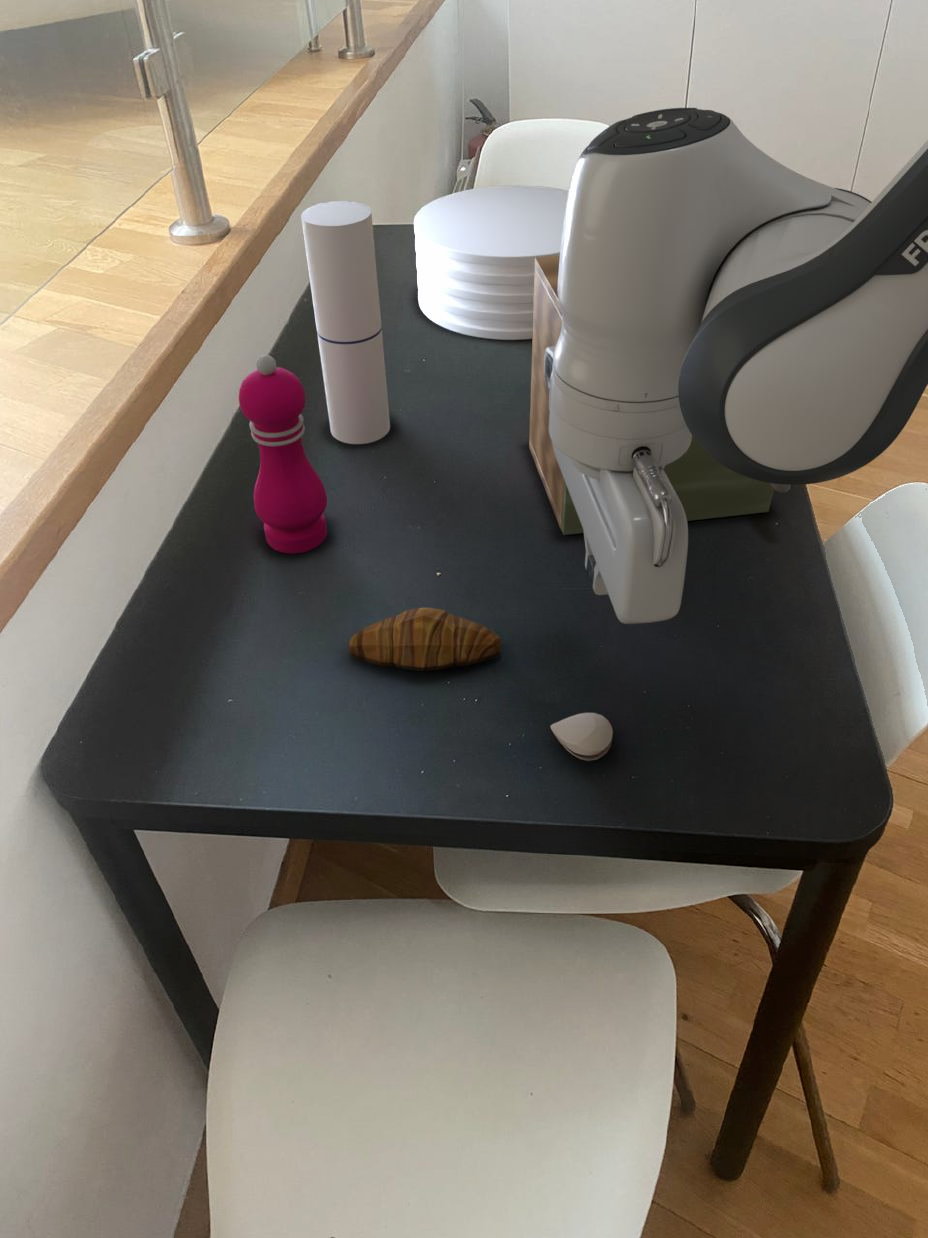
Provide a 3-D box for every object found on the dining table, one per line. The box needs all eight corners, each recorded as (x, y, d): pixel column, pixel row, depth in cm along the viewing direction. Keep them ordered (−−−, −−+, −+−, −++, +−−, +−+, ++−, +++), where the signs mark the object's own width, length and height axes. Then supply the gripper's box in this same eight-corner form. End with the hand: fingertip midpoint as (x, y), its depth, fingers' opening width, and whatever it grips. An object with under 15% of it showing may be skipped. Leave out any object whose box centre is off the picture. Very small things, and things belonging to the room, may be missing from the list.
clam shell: (603, 772, 72) (606, 752, 70) (542, 756, 73) (543, 735, 71) (616, 732, 75) (619, 712, 73) (557, 717, 76) (558, 696, 74)
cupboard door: (789, 542, 92) (845, 339, 78) (575, 567, 90) (592, 363, 75) (765, 507, 97) (814, 308, 82) (561, 530, 95) (573, 330, 80)
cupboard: (764, 507, 97) (813, 305, 82) (560, 529, 95) (573, 327, 80) (711, 428, 109) (746, 239, 94) (529, 447, 106) (534, 257, 92)
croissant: (345, 685, 79) (339, 643, 76) (354, 631, 84) (348, 590, 81) (502, 684, 79) (503, 642, 76) (501, 630, 84) (501, 588, 81)
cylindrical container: (323, 441, 108) (292, 224, 91) (339, 410, 114) (312, 199, 97) (382, 446, 107) (361, 227, 90) (395, 414, 113) (378, 202, 96)
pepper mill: (343, 521, 97) (319, 343, 83) (313, 563, 92) (282, 380, 78) (281, 509, 99) (248, 333, 85) (248, 549, 94) (207, 368, 80)
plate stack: (488, 247, 151) (488, 173, 144) (640, 285, 139) (649, 206, 131) (380, 309, 135) (373, 229, 127) (541, 358, 123) (544, 273, 115)
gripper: (731, 503, 49) (690, 682, 58) (628, 331, 64) (608, 496, 73) (615, 514, 48) (592, 693, 58) (538, 338, 63) (530, 503, 72)
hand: (601, 581), depth 65 cm, fingers closed
